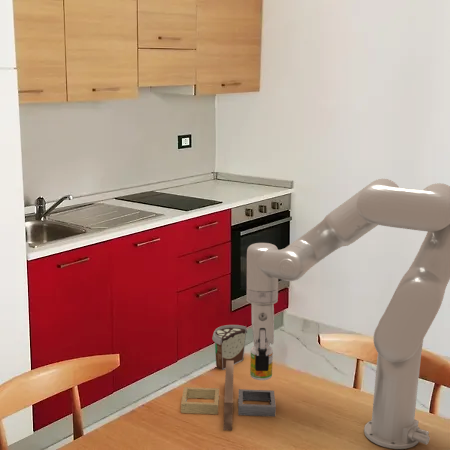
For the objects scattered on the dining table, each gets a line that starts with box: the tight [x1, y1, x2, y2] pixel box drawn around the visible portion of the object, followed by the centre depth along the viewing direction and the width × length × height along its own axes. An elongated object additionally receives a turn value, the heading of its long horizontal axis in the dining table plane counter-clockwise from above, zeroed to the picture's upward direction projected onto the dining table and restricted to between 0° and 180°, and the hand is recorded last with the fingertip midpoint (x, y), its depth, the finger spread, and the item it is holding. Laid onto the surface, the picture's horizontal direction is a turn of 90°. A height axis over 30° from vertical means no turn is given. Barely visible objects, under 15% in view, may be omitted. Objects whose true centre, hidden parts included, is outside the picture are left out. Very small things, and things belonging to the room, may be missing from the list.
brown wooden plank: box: [222, 360, 235, 431], centre depth 176 cm, size 2×24×7 cm, turn 179°
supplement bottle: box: [249, 340, 274, 381], centre depth 173 cm, size 5×5×10 cm
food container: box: [211, 324, 248, 371], centre depth 202 cm, size 12×6×10 cm, turn 141°
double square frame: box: [180, 386, 277, 417], centre depth 176 cm, size 23×9×2 cm, turn 89°
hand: (261, 364), depth 174 cm, fingers closed on supplement bottle, 5 cm apart
